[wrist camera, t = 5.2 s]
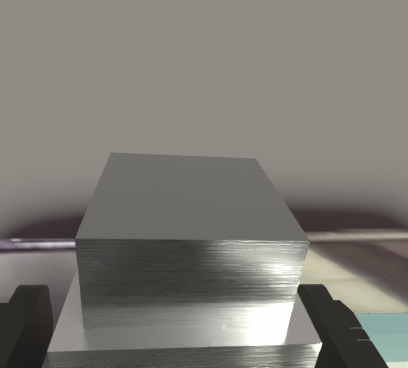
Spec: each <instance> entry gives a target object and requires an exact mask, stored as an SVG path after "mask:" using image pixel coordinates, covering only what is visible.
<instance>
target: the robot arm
mask: <svg viewBox="0 0 408 368" xmlns="http://www.w3.org/2000/svg"><path fill="white" fill-rule="evenodd" d="M297 293H298V295H299V297H300V299H301V301H302V303H303V305H304V307H305V309H306V311H307V313H308V315H309V317H310V319H311V322H312V324H313V326H314V328H315V330H316V332H317V334H318V336H319V338H320V340H321V342H322V345H321V348H320V351H319V354H318V357H317V361H316V364H315V367H314V368H389V367H388V366H387V364H386V362H385V361H384V359H383V358H382V356H381V355H380V353H379V352H378V350H377V348H376V347H375V345H374V344H373V342H372V341H370V338H369V336H368V334H367V333H366V331H365V330H364V329H362V325H361V324H360V322H359V320H358V319H357V317H356V316H355V314H354V313H353V312H352V311H351V310H350V309H349V308H348V307H347V306H346V305H344V304H343V303H342V302H341V301H340V300H333V299H332V297H331V295H330V294H329V292H328V290H327V289H326V287H325V286H324V285H322V284H300V285H299V286H298V288H297ZM52 333H53V316H52V309H51V302H50V295H49V289H48V286H47V285H19V286H18V287H17V289H16V290H15V292H14V294H13V296H12V297H11V299H10V301H9V303H0V368H41V367H42V364H43V362H44V359H45V356H46V353H47V350H48V348H49V345H50V342H51V338H52Z"/></svg>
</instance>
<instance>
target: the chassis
mask: <svg viewBox="0 0 408 368" xmlns="http://www.w3.org/2000/svg"><path fill="white" fill-rule="evenodd" d="M355 316H356V317H357V319H358V320H359V322H360V324H361V325H362V329H364V330H365V331H366V333H367V334H368V336H369V338H370V341H372V342H373V344H374V345H375V347H376V348H377V350H378V352H379V353H380V355H381V356H382V358H383V359H384V361H385V362H386V364H387V366H388V367H389V368H408V313H392V314H355Z"/></svg>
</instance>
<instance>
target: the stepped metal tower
mask: <svg viewBox="0 0 408 368" xmlns="http://www.w3.org/2000/svg"><path fill="white" fill-rule="evenodd" d="M309 242H310V240H309V239H308V237H307V236H306V234H305V233H304V231H303V230H302V229H301V227H300V225H299V224H298V222H297V221H296V219H295V218H294V216H293V215H292V213H291V212H290V210H289V209H288V207H287V206H286V204H285V202H284V201H283V200H282V198H281V197H280V195H279V193H278V192H277V190H276V189H275V187H274V186H273V184H272V183H271V181H270V180H269V178H268V177H267V175H266V174H265V172H264V171H263V169H262V168H261V166H260V165H259V163H258V161H257V160H256V159H248V158H223V157H201V156H177V155H153V154H152V155H151V154H128V153H111V154H110V156H109V158H108V161H107V163H106V166H105V168H104V170H103V173H102V175H101V178H100V180H99V182H98V185H97V187H96V190H95V192H94V194H93V197H92V199H91V201H90V204H89V206H88V209H87V211H86V213H85V216H84V218H83V221H82V223H81V226H80V228H79V230H78V233H77V235H76V237H75V243H76V254H77V264H78V267H77V270H76V272H75V275H74V278H73V281H72V283H71V286H70V289H69V292H68V295H67V297H66V300H65V303H64V306H63V309H62V311H61V314H60V317H59V320H58V322H57V325H56V328H55V331H54V334H53V336H52V339H51V342H50V345H49V348H48V350H47V355H48V361H49V367H50V368H314V367H315V364H316V361H317V357H318V354H319V351H320V348H321V345H322V342H321V340H320V338H319V336H318V334H317V332H316V330H315V328H314V326H313V324H312V322H311V319H310V317H309V315H308V313H307V311H306V309H305V307H304V305H303V303H302V301H301V299H300V297H299V295H298V293H297V288H298V284H299V281H300V277H301V273H302V269H303V265H304V261H305V258H306V254H307V250H308V246H309Z"/></svg>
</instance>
